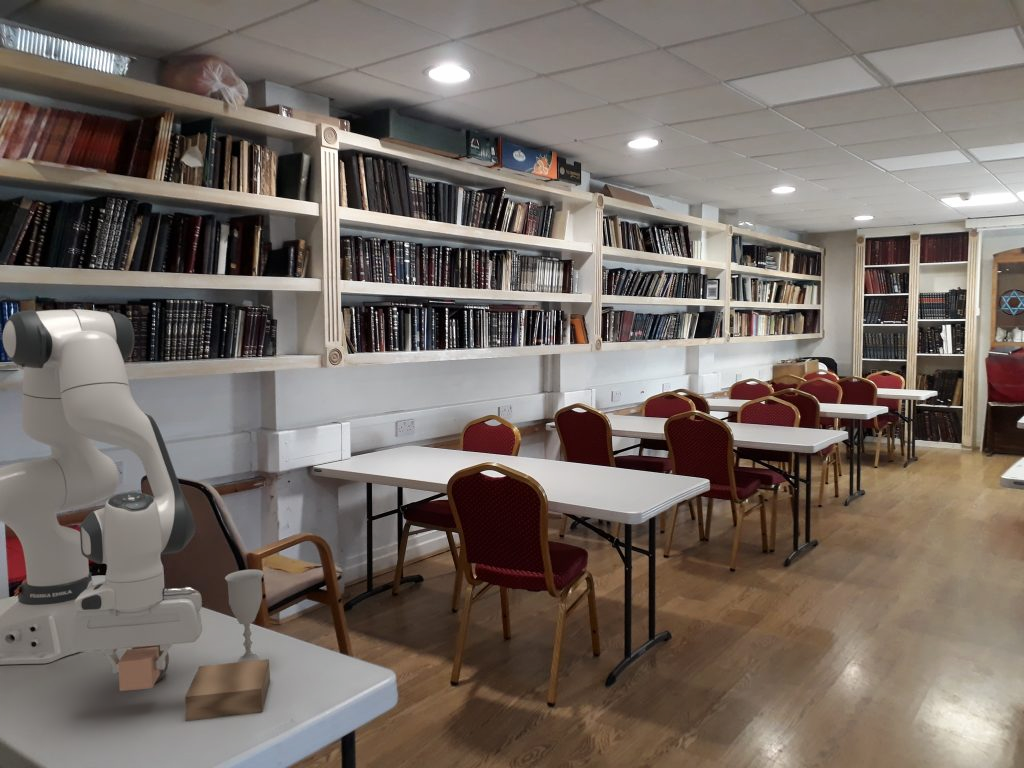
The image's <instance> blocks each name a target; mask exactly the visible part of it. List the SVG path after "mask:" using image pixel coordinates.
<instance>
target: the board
mask: <svg viewBox="0 0 1024 768" xmlns="http://www.w3.org/2000/svg"><path fill="white" fill-rule="evenodd" d="M198 666H199V665H198ZM270 668H271V667H270V659H269V658H267V659H266V658H265V659H259V660H257V661H247V662H228V663H220V664H219V663H217V664H211V665H209V664H208V665H200V666H199V667H198V668H197V671H196V673H195V675H194V677H193V679H192V681H191V684H190V685H189V688H188V689H187V692H186V694H185V696H184V703H185V719H186V720H185V721H187V722H188V721H195V720H205V719H212V718H213V719H214V718H220V717H229V716H239V715H246V714H247V715H248V714H256V713H262V712H264V708H263V707H265V704H266V698H267V695H268V690H269V687H270V686H269V685H270V682H271V675H270V674H271V673H270V671H271V669H270Z"/></svg>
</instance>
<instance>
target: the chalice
mask: <svg viewBox="0 0 1024 768" xmlns="http://www.w3.org/2000/svg"><path fill="white" fill-rule="evenodd" d="M264 574H265V573H264V571H263V570H261V569H254V568H253V569H243V570H238V571H235V572H231V573H229V574H227V575H226V576H225V577H224V579H225V581H226V583H227V587H228V589H227V590H228V604H229V606H230V609H231V612H232V613H233V615H234V617H235V618H236V620H237V622H238V623H239V624H240V625H243V627H244V632H243V633H242V635H243V637H244V642H243V643H242V645H243V646H244V648H245V649H244V650H245V653H244V654H243V655H241V656H240V657H239V659H238V660H237V661H238V662H247V661H257V660H260V659H259V658H260V657H259V656H258V655H257V654H256V653H253V652H252V649H251V648H252V644H253V641H252V639H251V635H252V631H251V628H250V626H251V624H252V623H253V622H255V620H256V618H257V615H258V613H259V610H260V607H261V603H262V600H263V586H262V582H263V581H262V579H263V576H264Z"/></svg>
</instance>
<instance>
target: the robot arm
mask: <svg viewBox="0 0 1024 768" xmlns="http://www.w3.org/2000/svg"><path fill="white" fill-rule="evenodd" d="M135 338H136V337H135V329H134V327H133V323H132V322H131V321H130V319H129V318H128V317H127V316H126V315H124V314H122V313H118V312H115V311H109V310H105V311H98V310H92V309H91V310H89V309H80V308H79V309H78V308H77V309H76V308H70V309H49V310H34V309H30V310H29V309H28V310H21V311H17V312H14V313H12V314H10V316H9V317H8V318H7V319H6V321H5V325H4V328H3V331H2V344H3V348H4V351H5V354H6V356H7V359H9V360H10V361H11V362H12V363H14V364H15V365H17V366H22V367H24V369H23V371H24V372H23V380H22V394H21V395H22V398H21V399H22V401H21V403H22V404H21V407H22V408H21V428H22V430H23V431H24V433H25V434H26V435H27V436H28V437H29V438H30V439H31V440H33V441H36V442H39V443H41V444H43V445H48V446H49V447H50V450H51V453H50V454H51V456H50V457H48V458H43V459H42V458H41V459H37V460H30V461H23V462H15V463H11V464H8V465H7V464H6V465H5V466H2V467H0V522H1V523H4V524H5V525H6V526H7V527H9V529H11V530H12V531H13V533H15V535H16V537H17V538H18V540H19V542H20V544H21V548H22V551H23V557H24V563H25V564H24V565H25V571H26V572H25V573H26V578H25V579H24V580H22V582H21V584H20V585H18V586H17V588H16V589H15V590H14V591H13V593H14V595H13V596H14V597H17V599H18V601H16V602H15V603H14V604H12V606H11V607H9V608H8V609H7V610H6V611H4V612H3V613H2V614H1V615H0V665H1V666H2V665H29V664H30V665H33V664H35V665H36V664H37V665H38V664H49V663H52V662H55V661H56V660H57V661H58V660H60V659H62V658H64V657H67V656H70V655H73V654H77V653H84V652H94V651H95V652H96V651H97V652H98V651H103V652H104V657H105V658H106V660H107V661H108V662H109V663H110V664H111V665H112V674H113V675H117V674H118V675H119V664H118V662H119V660H120V659H121V658H119V656H118V655H117V650H120V649H132V648H133V647H145V646H157V645H160V651H163V650H164V652H163V653H162V655H161V656H159V657H156V658H155V660H154V670H164V668H165V657H166V655H167V653H168V654H169V651H170V649H171V647H172V645H179V644H180V645H181V644H188V643H189V644H192V643H195V642H196V641H197V640H198V639H199V638H200V636H201V635H202V633H203V622H202V615H201V609H202V607H203V600H202V595H201V594H202V593H200V591H198V589H197V590H196V589H194V588H193V587H190V586H185V587H180V588H179V587H172V588H170V587H169V588H165V574H164V573H165V572H164V570H165V569H164V565H163V563H162V560H161V555H166V554H167V555H168V554H175V553H176V554H177V553H179V552H181V551H182V550H183V549H184V548H186V546H187V545H188V544H189V543H190V541H191V540H192V539H193V537H194V535H195V533H196V524H195V519H194V514H193V512H192V509H191V507H190V506H189V503H188V501H187V499H186V497H185V495H184V492H183V490H182V488H181V486H180V482H179V480H178V477H177V474H176V471H175V468H174V465H173V462H172V459H171V457H170V454H169V452H168V449H167V446H166V443H165V440H164V438H163V435H162V433H161V430H160V429H159V426H158V425H157V422H156V421H155V418H153V416H152V415H150V414H147V413H145V412H144V411H142V410H141V409H140V407H139V406H138V404H137V403H136V401H135V399H134V397H133V395H132V392H131V389H130V383H129V377H128V372H127V369H126V364H125V362H126V360H128V359H129V358H130V356H131V355H132V354H133V351H134V349H135V348H134V347H135V340H136V339H135ZM93 441H97V442H101V443H104V444H110V445H114V446H117V447H121V448H124V449H126V450H129V451H131V452H132V453H133V454H134V455H136V456H137V457H138V458H139V460H140V461H141V464H142V465H143V466H142V467H143V469H144V471H145V475H146V478H147V481H148V483H149V485H150V489H151V493H152V494H153V496H152V495H150V494H146V493H143V492H136V491H135V492H133V491H132V492H123V493H119V494H115V492H116V491H117V488H118V486H119V484H120V472H119V469H118V466H117V464H116V463H115V461H114V460H112V458H111V457H110V456H108V455H107V454H104V453H103V452H102V451H100V450H99V449H98V448H97V447H96V445H95V444H94V443H93ZM114 494H115V495H114ZM108 498H109V499H108ZM106 499H107V500H106ZM103 500H106V501H105V505H104V507H102V508H99V509H96V510H93V511H91V512H90V513H88V514H87V516H86V517H85V518H84V519H83V520H82V522H81V524H79V530H78V529H74V528H72V527H68V526H65V525H64V526H63V525H61V524H60V523H59V521H58V517H57V512H58V513H59V512H61V511H66V510H71V509H77V508H81V507H87V506H91V505H94V504H96V503H98V502H101V501H103ZM89 560H90V561H91V562H94V563H95V564H98V565H102V564H105V565H106V572H105V577H104V579H105V581H102V582H100V583H97V584H94V583H93V577H92V572H90V566H89Z"/></svg>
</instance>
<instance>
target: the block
mask: <svg viewBox="0 0 1024 768" xmlns="http://www.w3.org/2000/svg"><path fill="white" fill-rule="evenodd" d="M156 657H159V651H158V647H151V648H139V649H132V648H127V649H126V651H125V652H124V653H123V654H122V656H121V657H120V658H119V659H120V660H119V662H118V664H119V674H118V678H119V679H118V680H119V682H118V683H119V691H120V692H124V691H125V692H126V691H133V690H136V691H137V690H144V689H145V690H146V689H153V687H154V686H155V683H157V682H156V680H157V679H158V677H159V675H160V673H159V670H154V660H155V658H156Z"/></svg>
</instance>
